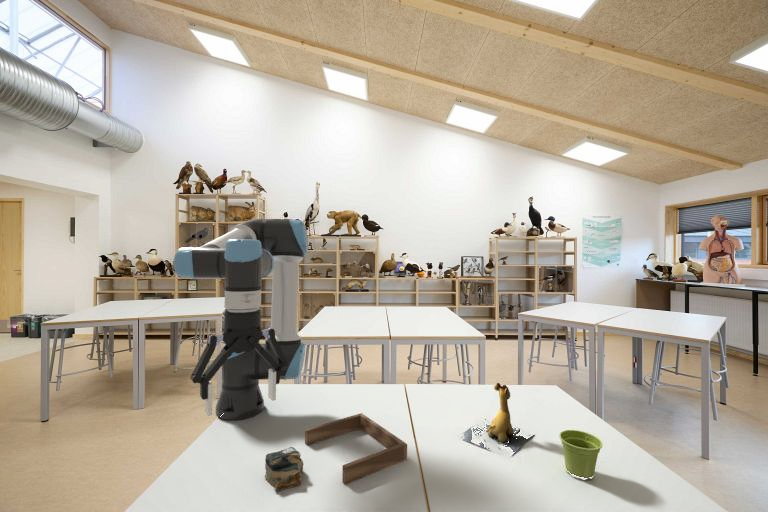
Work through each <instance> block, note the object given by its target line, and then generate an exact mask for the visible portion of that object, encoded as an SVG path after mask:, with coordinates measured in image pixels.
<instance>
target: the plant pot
mask: <svg viewBox="0 0 768 512" xmlns="http://www.w3.org/2000/svg"><path fill="white" fill-rule="evenodd" d="M558 436H559V439H560V441H561V445H562V449H563V455H564V464H565V465H564V466H565V470H566V469H567V471H569V472H570V473H571V474H574V475H576V476H579V477H584V478H589V477H592V476H594V475H595V470H596V466H597V462H598V458H599V457H598V455H599V453H600V451H601V449H602V448H603V441H601V439H600V438H598V437H597V436H595V435H593V434H591V433H589V432H586V431H583V430H579V429H577V430H575V429H565V430H562V431H561V432H560V433H559V435H558ZM567 471H566V472H567Z"/></svg>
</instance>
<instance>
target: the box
mask: <svg viewBox="0 0 768 512" xmlns="http://www.w3.org/2000/svg"><path fill="white" fill-rule="evenodd" d="M359 429H360V430H362V431H363V432H364V433H366V434H367V435H369V437H371V438H372V439H374V440H375V441H376V442H378V443H379V444H380V445H381V446H383V447H384V448H385V449H382V450H380V451H377V452H375V453H374V452H373V453H371V454H369V455H366V456H364V457H363V456H362V457H361V458H359V459H355V460H352V461H350V462H347V463H345V464H343V465H342V476H341V477H342V482H341V483H342V484H344V485H348V484H350V483H352V482H355V481H357V480H359V479H362V478H365V477H367V476H370V475H372V474H375V473H377V472H380V471H382V470H384V469H387V468H390V467H391V466H392V467H393V466H394V465H397V464H399V463H401V462H404V461H407V460H408V443H407V442H405V441H404V440H402V439H400V438H399V437H397V436H396V435H395V434H393V433H392V432H390V431H389V430H387V429H386V428H384V427H383V426H381V425H380V424H378V423H377V422H375V420H373V419H371V418H370V417H368V416H367V415H365V414H363V412H362V413H361V412H360V413H357V414H354V415H350V416H346V417H343V418H340V419H336V420H333V421H329V422H326V423H323V424H318V425H315V426H312V427H309V428H305V429H304V431H305V432H304V433H305V434H304V442H305V445H306V446H309V445H313V444H315V443H319V442H322V441H324V440H328V439H331V438H334V437H337V436H340V435H344V434H347V433H350V432H354V431H357V430H359Z"/></svg>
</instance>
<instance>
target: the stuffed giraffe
mask: <svg viewBox="0 0 768 512" xmlns="http://www.w3.org/2000/svg"><path fill="white" fill-rule="evenodd" d="M493 388H494V390H495V391H496V392H498V396H499V398H498V399H499V404H500V405H499V407H500V408H499V410H498V411H497V413H496V414H495V416H494V417H493V418H492V420H491V422H490V425H487V424H486V427H487V428H486V429H487V430H486V431H485V433H487V435H488V437H489V438H490V437H491V439H494V438H495V439H494V440H497V441H498V442H499V443H500V442H501V444H505V445H506V444H507V446H505V447H510V448H511V449H512V450H513V452H515V451H519V449H521V447H522V446H524V444H525V443H527V442H528V441H529V440H530V439H529V438H528V439H526V438H524V437H523V436H520V435H519V436H516V434H518V433H519V432H520V429H521V428H518V430H516V428H517V427H514V429H513V428H512V427H513V426H512V423H511V413H510V409H509V406H508V405H509V404H508V400H509V399H510V398H511V392H510V388H509V387H508V386H507V384H502V385H501V384H500V383H499V382H496V383H495V384H494V386H493ZM485 420H486V419H485ZM477 428H478V427H477ZM477 428H476V429H474V428H473V429H472V430H473V432H474V431H475V430H476V431H480V430H481V431H483V430H484V428H485V427H484V428H482V429H483V430H482V429H480V428H478V429H480V430H478V429H477ZM472 430H471V427H469V428H468V429H467V430H465V431H464V432H463V434H464V437H463V436H462V437H461V438H462V441H464V442H468V443H470V444H473V443H471V440H472ZM476 431H475V432H476ZM481 431H480V432H479V433H481ZM515 431H516V432H515ZM475 432H474V433H475ZM514 432H515V433H514ZM479 433H477V434H478V435H479ZM513 434H514V435H513ZM508 438H509V443H507V442H508ZM516 438H517V439H516ZM479 444H480V446H478V447H480V448H482V449H484V450H487V449H486V448H488V449H490V448H489V447H487V446H486V447H485V448H484V444H483V443H482V442H481V443H479ZM473 445H474V444H473ZM487 451H488V450H487ZM514 455H515V454H513V456H514Z"/></svg>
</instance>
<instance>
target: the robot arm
mask: <svg viewBox="0 0 768 512" xmlns="http://www.w3.org/2000/svg"><path fill="white" fill-rule="evenodd" d="M308 238H309V237H308V233H307V227H306V224H305V223H304V221H302V220H300V219H292V218H286V219H285V218H255V219H250V220H246V221H242V222H241V223H238V224H235V225H234V226H232V227H230V229H228V231H227V233H225V234H223V235H221V236H219V237H216V238H215V239H213V240H211V241H208V242H207V243H205V244H203V245H201V246H199V247H194V246H193V247H192V246H189V247H188V246H187V247H180V248H178V249H177V250H176V252H175V254H174V257H173V268H174V272H175V274H176V275H177V277H179V278H182V279H192V280H194V279H195V280H196V279H197V280H198V279H203V280H204V279H208V280H209V279H211V280H212V279H214V280H215V279H219V280H221V279H223V280H224V309H226V311H224V313H223V314H224V315H223V316H224V319H223V321H224V323H223V324H224V325H223V327H224V328H223V330H224V331H223V333H222V334H213V333H210V334H208V336H207V341H206V346H205V347H204V350H203V352H202V354H201V355H200V357H199V359H198V361H197V363H196V366H195V367H194V369H193V371H192V373H191V375H190V380H191V382H192V383H193V384H199V386H200V388H199V395H200V396H199V397H200V398H201V400H205V401H204V403H205V405H204V406H205V408H204V412H205V413H206V415H207V416H208V417H211V416H213V382H212V381H211V380H212V379H213V377H214V376H215V375H216V374H217V373H218V371H219V370H220V369H221V390H220V393H219V396H218V398H217V402H216V404H215V416H216V417H217V418H219V417H220V416H221V415H222V414H223V413H224V414H223V415H222V416H221V417H220V418H219V419H221V420H226V421H227V420H228V421H236V420H243V419H244V420H245V419H248V418H253V417H255V416H257V415H259V414H260V413H262V411H264V408H265V401H264V397H263V394H262V391H261V388H260V383H259V381H260V380H264V381H265V380H268V386H267V387H268V389H267V391H268V393H267V395H268V399H270V400H271V401H273V402H274V401H276V400H277V385H279V384H280V381H281V380H283V381H286V380H296V379H298V378H299V377H300V375H301V373H302V371H303V367H304V364H305V363H304V362H305V356H306V344H305V343H304V342H302V337H301V336H300V335H299V334H298V333H297V328H298V326H297V325H298V303H299V302H298V300H299V298H298V296H299V295H298V294H299V272H300V271H299V270H300V269H299V266H300V265H299V264H300V262H301V261H303V260H304V255H306V254H308V253H309V239H308ZM271 273H272V280H271V281H272V282H271V283H272V284H271V285H272V286H271V287H272V288H271V311H270V326H268V327H266V329H262V328H261V326H262V312H261V311H262V310H261V309H259V308H261V306H262V279H263V278H265V277H267V276H268V275H271ZM262 337H264V338H265V340H264V341H265V342H264V343H261V341H260V340H261V339H262ZM222 341H223V342H224V344H225V345H224V346H223V347H222V348H221V351H220V352H219V354H218V355H217V356H216V357H215V358H214V360H213V361H211V362H212V363H210V365H208V364H209V362H210V360H211V358H212V356H213V354H214V352H215V351H216V348H217V346H219V345H220V343H221V342H222Z"/></svg>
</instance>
